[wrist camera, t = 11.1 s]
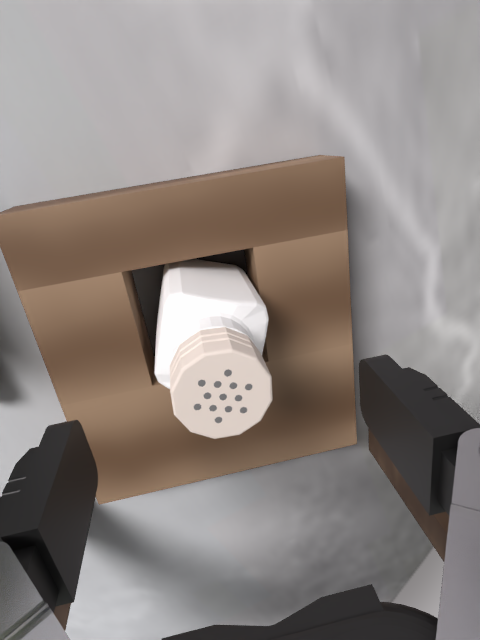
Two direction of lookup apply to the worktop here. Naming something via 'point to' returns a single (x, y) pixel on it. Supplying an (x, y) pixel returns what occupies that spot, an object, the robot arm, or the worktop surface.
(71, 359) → the stand
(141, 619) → the worktop surface
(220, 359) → the pepper shaker
